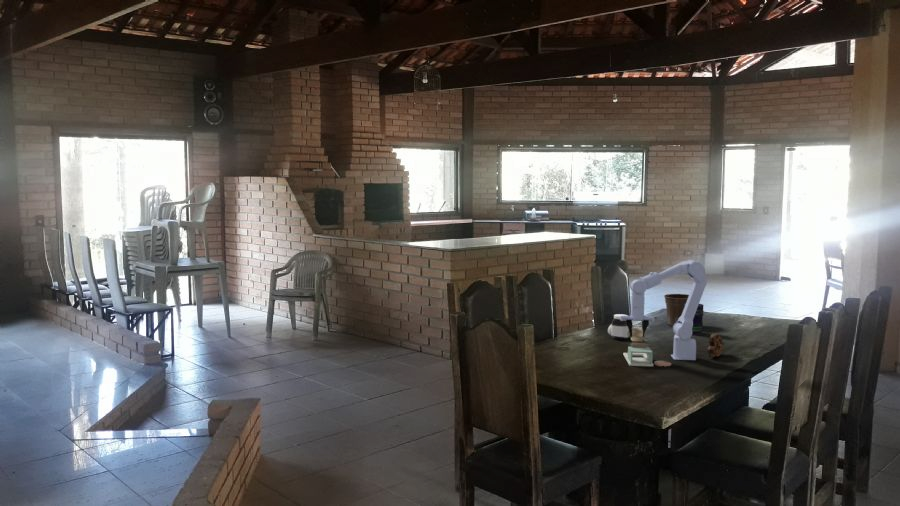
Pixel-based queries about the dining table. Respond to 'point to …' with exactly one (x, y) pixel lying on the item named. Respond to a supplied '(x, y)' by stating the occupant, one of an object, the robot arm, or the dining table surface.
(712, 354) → the wooden carving
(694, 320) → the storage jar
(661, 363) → the coaster
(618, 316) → the spread jar
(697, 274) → the robot arm
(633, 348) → the pale green open box
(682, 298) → the plant pot
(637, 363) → the board
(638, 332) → the block
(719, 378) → the dining table surface
